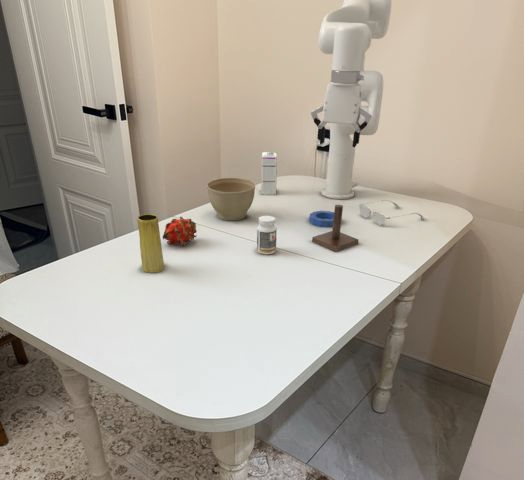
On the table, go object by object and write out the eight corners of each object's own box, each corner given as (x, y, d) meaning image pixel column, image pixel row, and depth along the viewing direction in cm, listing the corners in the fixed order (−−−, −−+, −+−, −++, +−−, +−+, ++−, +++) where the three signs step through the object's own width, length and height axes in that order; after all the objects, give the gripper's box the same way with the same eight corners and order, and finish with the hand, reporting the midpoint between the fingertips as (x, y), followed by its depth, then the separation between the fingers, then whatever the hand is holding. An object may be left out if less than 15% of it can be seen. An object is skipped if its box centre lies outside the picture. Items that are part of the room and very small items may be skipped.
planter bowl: (198, 216, 169) (196, 184, 163) (230, 205, 179) (230, 174, 173) (232, 228, 160) (231, 194, 154) (264, 216, 171) (265, 184, 165)
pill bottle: (279, 251, 146) (281, 218, 140) (266, 256, 142) (267, 223, 137) (265, 245, 149) (266, 213, 143) (252, 251, 146) (252, 218, 140)
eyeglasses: (356, 213, 175) (358, 202, 172) (397, 207, 182) (398, 196, 179) (384, 228, 163) (386, 216, 161) (426, 220, 170) (428, 209, 168)
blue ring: (324, 214, 174) (324, 208, 172) (346, 222, 167) (347, 216, 166) (302, 220, 168) (303, 214, 167) (325, 229, 161) (325, 223, 160)
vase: (156, 261, 138) (150, 211, 130) (169, 268, 135) (164, 217, 127) (137, 267, 135) (130, 216, 127) (150, 275, 131) (144, 223, 123)
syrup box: (276, 194, 191) (277, 155, 182) (260, 194, 191) (261, 155, 183) (276, 190, 195) (277, 152, 187) (261, 190, 195) (261, 151, 187)
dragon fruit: (200, 243, 153) (168, 259, 148) (185, 222, 154) (152, 237, 149) (206, 228, 146) (173, 243, 140) (190, 206, 147) (156, 220, 141)
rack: (334, 234, 158) (337, 198, 151) (358, 244, 152) (363, 207, 145) (311, 241, 153) (314, 204, 146) (335, 252, 146) (340, 213, 140)
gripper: (378, 78, 136) (369, 144, 145) (317, 75, 140) (312, 139, 150) (374, 81, 130) (365, 150, 139) (310, 77, 134) (306, 144, 144)
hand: (338, 144), depth 144 cm, fingers open, 9 cm apart
